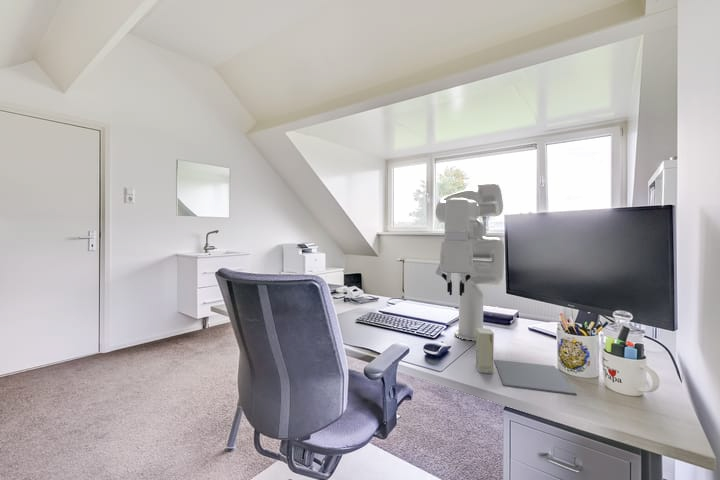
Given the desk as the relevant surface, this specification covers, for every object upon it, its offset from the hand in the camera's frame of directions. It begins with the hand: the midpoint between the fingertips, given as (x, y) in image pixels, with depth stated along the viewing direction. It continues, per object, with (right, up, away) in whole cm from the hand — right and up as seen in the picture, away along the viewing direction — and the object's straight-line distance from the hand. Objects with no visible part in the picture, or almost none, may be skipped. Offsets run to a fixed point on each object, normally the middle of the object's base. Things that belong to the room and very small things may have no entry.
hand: (455, 294), depth 102 cm
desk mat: (+21, -23, -6) cm, 32 cm away
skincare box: (+9, -24, -2) cm, 25 cm away
